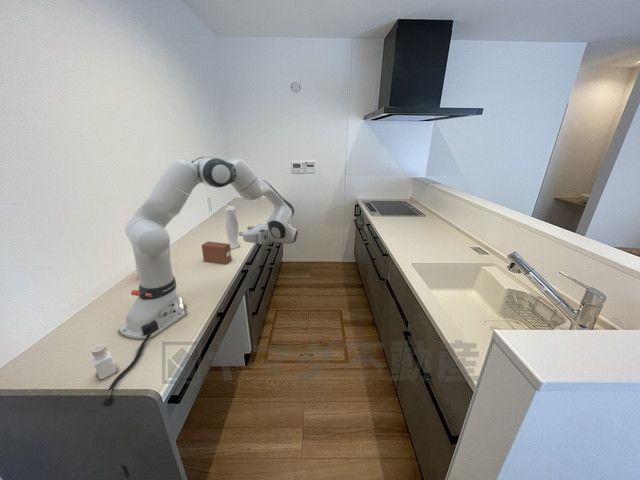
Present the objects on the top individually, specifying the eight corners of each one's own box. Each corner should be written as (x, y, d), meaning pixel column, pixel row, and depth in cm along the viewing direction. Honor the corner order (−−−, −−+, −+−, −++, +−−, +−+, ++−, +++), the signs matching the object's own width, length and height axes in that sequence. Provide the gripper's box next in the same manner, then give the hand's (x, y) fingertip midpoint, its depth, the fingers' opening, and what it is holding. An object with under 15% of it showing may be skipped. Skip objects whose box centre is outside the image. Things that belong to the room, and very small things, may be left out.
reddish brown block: (226, 264, 147) (224, 248, 143) (203, 261, 150) (201, 245, 146) (232, 260, 152) (230, 244, 149) (210, 256, 155) (208, 241, 152)
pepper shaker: (100, 380, 76) (90, 355, 72) (97, 373, 78) (88, 348, 75) (117, 372, 79) (108, 347, 75) (113, 365, 81) (105, 340, 78)
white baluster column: (230, 250, 166) (225, 206, 156) (225, 246, 171) (220, 204, 161) (241, 247, 171) (238, 205, 160) (236, 243, 176) (233, 202, 166)
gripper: (275, 221, 146) (252, 219, 149) (259, 233, 127) (233, 231, 130) (275, 232, 148) (252, 230, 151) (259, 245, 130) (234, 243, 132)
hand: (243, 230), depth 140 cm, fingers open, 8 cm apart
